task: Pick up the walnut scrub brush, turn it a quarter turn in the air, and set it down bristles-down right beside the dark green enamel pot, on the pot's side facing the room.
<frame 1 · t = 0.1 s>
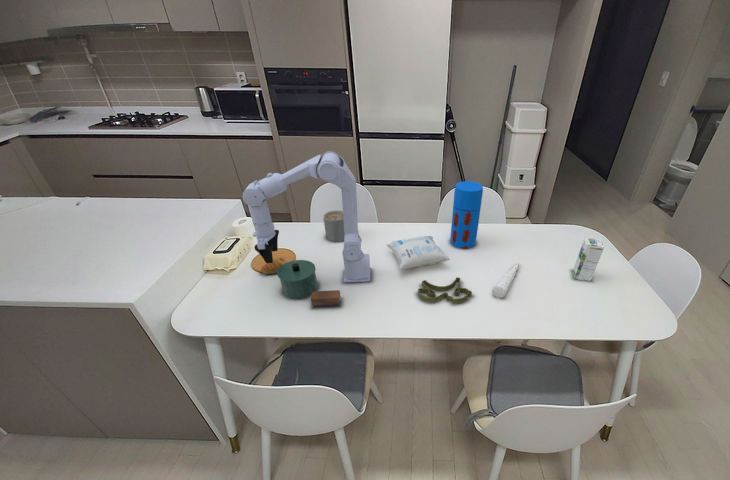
hand: (271, 256, 121), 10 cm above the table, tool pointing down, fingers open, 7 cm apart
unicorn horn: (506, 281, 127), on the table
pot: (300, 288, 123), on the table
pastry: (276, 269, 133), on the table
cookie cutter: (443, 293, 122), on the table
coffee mug: (341, 236, 154), on the table
thermos: (462, 243, 150), on the table
syrup box: (581, 276, 130), on the table
scrub brush: (326, 303, 117), on the table
pouch: (417, 260, 139), on the table
pot lid: (296, 271, 119), point 7 cm above the table, touching pot
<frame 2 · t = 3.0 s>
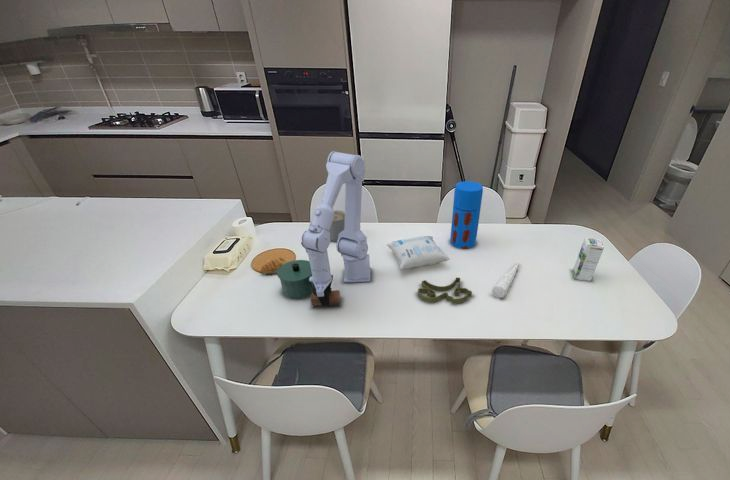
hand: (326, 300, 116), 1 cm above the table, tool pointing down, fingers closed on scrub brush, 4 cm apart
scrub brush: (326, 303, 117), on the table, touching gripper
everything else where it was.
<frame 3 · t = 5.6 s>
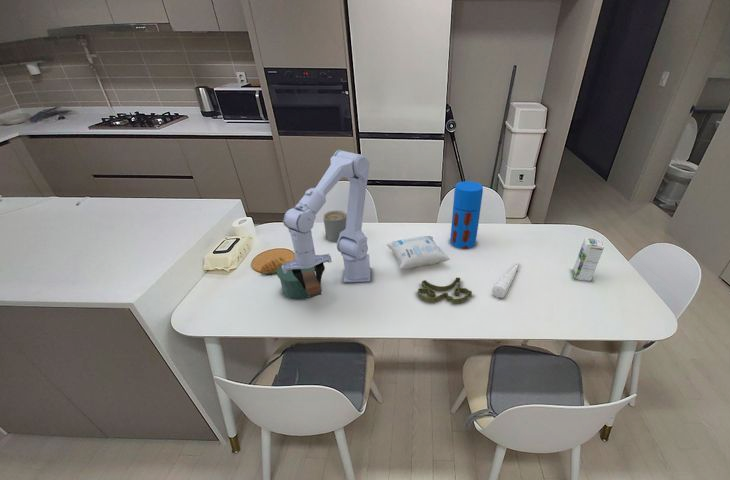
hand: (311, 285, 111), 8 cm above the table, tool pointing down, fingers closed on scrub brush, 4 cm apart
scrub brush: (312, 288, 112), point 7 cm above the table, touching gripper
everything else where it was.
when the fingers open (1 cm above the table, at t = 8.3 s): scrub brush stays where it is, on the table.
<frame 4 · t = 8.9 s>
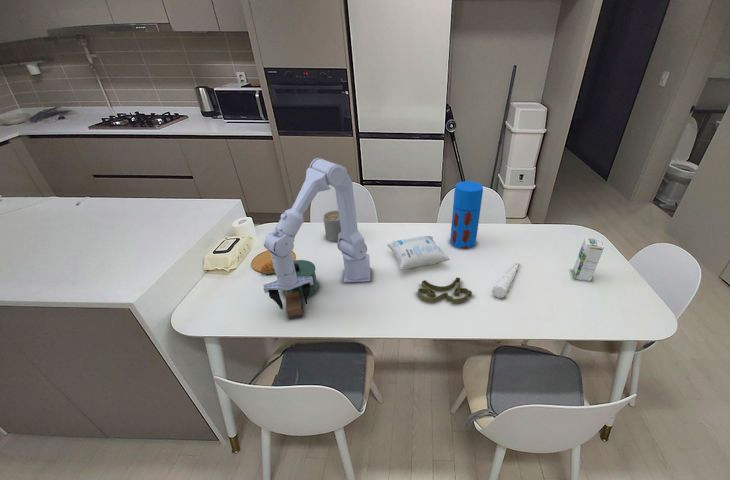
hand: (294, 304, 113), 2 cm above the table, tool pointing down, fingers open, 7 cm apart
scrub brush: (295, 309, 114), on the table
everything else where it was.
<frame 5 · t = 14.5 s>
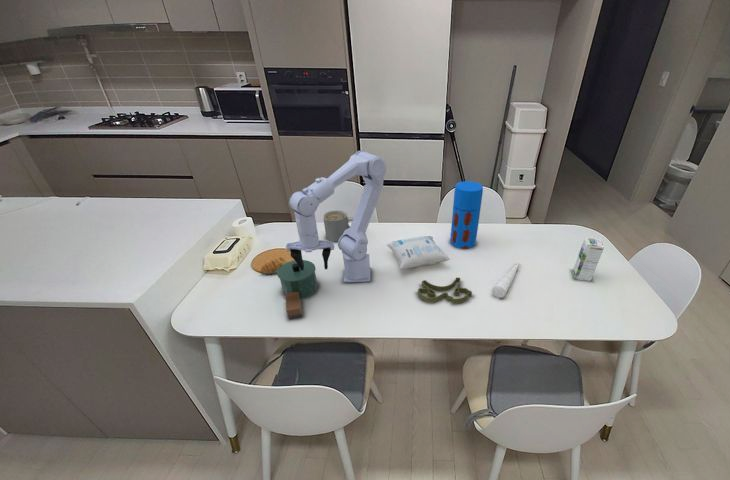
hand: (314, 268, 115), 10 cm above the table, tool pointing down, fingers open, 7 cm apart
nothing on the table moved.
at the end: scrub brush inside the target area on the table beside the pot (0.4 cm from its centre), on the table; scrub brush tilted 0°; the gripper is holding nothing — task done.
